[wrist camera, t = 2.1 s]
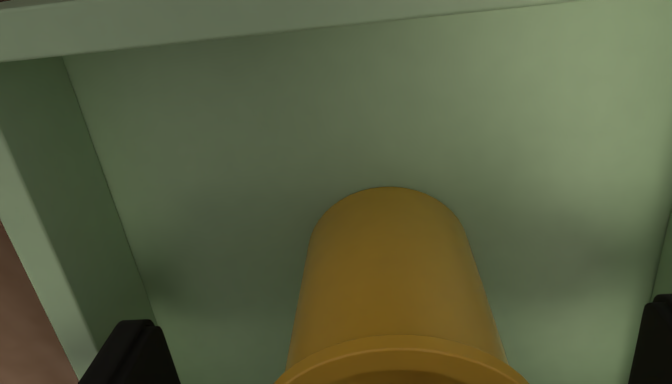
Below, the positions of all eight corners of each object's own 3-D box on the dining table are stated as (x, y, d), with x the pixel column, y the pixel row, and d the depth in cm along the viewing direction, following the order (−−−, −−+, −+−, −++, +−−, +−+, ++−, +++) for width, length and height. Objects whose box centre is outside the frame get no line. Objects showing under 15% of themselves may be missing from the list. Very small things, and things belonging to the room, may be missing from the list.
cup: (340, 143, 11) (320, 302, 6) (519, 219, 12) (623, 416, 7) (270, 290, 13) (214, 495, 8) (425, 348, 14) (456, 569, 9)
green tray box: (27, -4, 11) (-99, 20, 8) (753, -91, 9) (931, -101, 6) (198, 457, 18) (165, 560, 15) (625, 449, 16) (681, 562, 13)
